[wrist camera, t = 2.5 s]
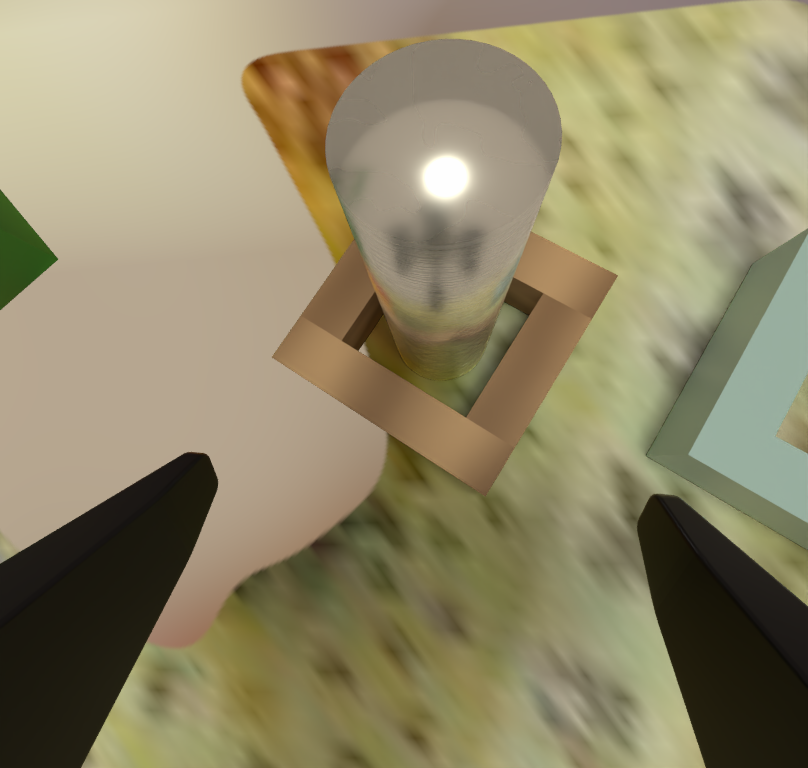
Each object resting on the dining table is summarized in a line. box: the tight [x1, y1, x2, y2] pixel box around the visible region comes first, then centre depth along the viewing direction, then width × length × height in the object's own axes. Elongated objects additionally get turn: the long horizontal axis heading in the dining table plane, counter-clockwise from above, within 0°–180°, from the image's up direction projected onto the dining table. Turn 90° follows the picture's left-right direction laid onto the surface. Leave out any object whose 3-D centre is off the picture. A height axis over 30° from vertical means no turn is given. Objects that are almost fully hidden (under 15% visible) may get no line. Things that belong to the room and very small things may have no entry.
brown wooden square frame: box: [272, 232, 618, 496], centre depth 21 cm, size 12×12×3 cm
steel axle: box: [325, 39, 562, 381], centre depth 15 cm, size 5×5×14 cm
